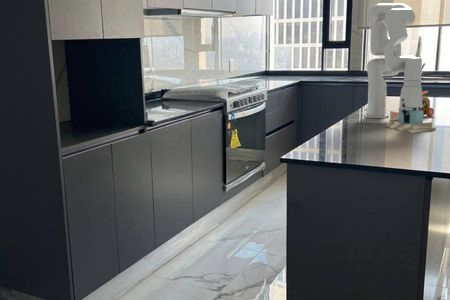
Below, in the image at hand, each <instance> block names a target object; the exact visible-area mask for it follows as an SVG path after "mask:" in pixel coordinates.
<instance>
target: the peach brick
mask: <svg viewBox="0 0 450 300" xmlns="http://www.w3.org/2000/svg"><path fill="white" fill-rule="evenodd" d="M389 115H390V116H389V117H390V119H398V118H399V109H398V110H391V111H390V114H389ZM390 119H389V120H390Z"/></svg>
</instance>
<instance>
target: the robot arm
mask: <svg viewBox="0 0 450 300" xmlns="http://www.w3.org/2000/svg"><path fill="white" fill-rule="evenodd" d="M367 15H368V16H367V17H368V22H369V27H370V44H369V45H370V47H369V48H370V53H371V55H373V56H374V57H375V56H376V58H372V59H370V60H369V61H368V62H367V64H366V70H367V72H366V73H367V79H368V81H367V82H368V85H367V87H368V88H367V89H368V90H367V108H364V111H365V112H366V113H364V117H365V118H371V119H384V118H388V117H390V116H389V115H390V114H388V113H386V112H387V111H386V110H387V89H388V88H387V86H388V85H387V82H386V80H385V78H383V77H390V76H396V75H399V73H404V74H403V86H402V87H401V90H400V96H399V103H398V105H399V107H398V110H401V111H402V112H403V114H404V122H405V123H409V118H410V115H408V114H409V110H410V108H412V109H413V110H418V111H420V110H421V108H422V107H423V104H422V92H423V88H422V85H421V84H423V81H422V67H423V66H422V65H423V59H422V58H421V57H420V56H414V55H402V43H403V42H405V41H406V40H407V39H408V38H409V37H408V30H407V27H406V26H412V25H413V24H414V23H415V21H416V13H415V12H414V10H413V9H412V7H410V6H409V5H406V4H404V3H400V2H397V3H395V2H394V3H393V2H392V3H385V2H384V3H378V4H373V5H372V6H370V8H369V10H368V14H367ZM384 21H385V22H384ZM378 56H384V57H380V58H379V57H378ZM377 57H378V58H377ZM403 107H404V108H403ZM406 109H407V111H406Z"/></svg>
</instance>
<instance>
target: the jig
mask: <svg viewBox="0 0 450 300" xmlns="http://www.w3.org/2000/svg"><path fill="white" fill-rule="evenodd" d="M385 127H386V128H388V127H389V128H388V129H393V130H397V131H402V132H406V133H412V134H414V133H416V134H417V133H422V132H431V131H436V130H437V127H436V126H433V121H426V122H423V123H417V124H412V125H409V124H404V123H400V122H398V119H389V123H388V124H385ZM430 130H431V131H430Z"/></svg>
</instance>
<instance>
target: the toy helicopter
mask: <svg viewBox="0 0 450 300" xmlns="http://www.w3.org/2000/svg"><path fill="white" fill-rule="evenodd" d="M428 93H429V91H428V90H424V91H422V104H423V107H422V108H421V110H420V111H424V113H423V116H426V117H432V116H434V113H435V111H434V108H433V107H430V106H431V100H430V98H428V97H427V96H424V95H425V94H428ZM403 108H404V107H403ZM410 109H412V108H410ZM412 110H413V109H412Z"/></svg>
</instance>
